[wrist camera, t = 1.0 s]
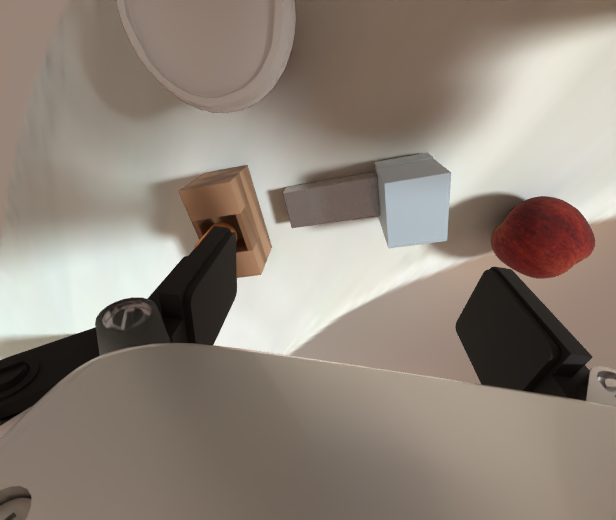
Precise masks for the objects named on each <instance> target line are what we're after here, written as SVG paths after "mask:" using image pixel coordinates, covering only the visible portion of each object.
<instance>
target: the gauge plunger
mask: <svg viewBox="0 0 616 520" xmlns="http://www.w3.org/2000/svg"><path fill="white" fill-rule="evenodd" d="M214 226H220V227H227V228H230V229H231V232H235V234H236V242H237V238H238V237H237V233H236V231H235V229H234V228H233V227H232V226H231V225H229V224H227V223H224V222H218V223H215V224H213V225H212V226H211V227H210V229H209V230H208V231H207V232H206V233H205V234H204V236H203V237H202V238H201V239H200V240H199V241H198V243H197V244H196V246H197V245H198V244H199V243H200V242H201V241H202V239H203V238H204V237H205V236H206V235H207V233H208V232H209V231H210V230H211V229H212V228H213V227H214ZM196 246H195V248H196Z"/></svg>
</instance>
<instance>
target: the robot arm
mask: <svg viewBox="0 0 616 520" xmlns="http://www.w3.org/2000/svg"><path fill="white" fill-rule="evenodd" d="M236 292H237V269H236V234H235V232H231V229H230V228H227V227H220V226H214V227H213V228H212V229H211V230H210V231H209V232H208V233H207V235H206V236H205V237H204V238H203V239H202V241H201V242H200V243H199V244H198V245H197V246H196V248H195V249H194V250H193V251H192V252H191V254H190V255H189V256H185V257H184V258H183V259H182V260H181V261H180V262H179V263H178V264H177V266H176V267H175V268H174V269H173V270H172V271H171V272H170V274H169V275H168V276H167V277H166V278H165V279H164V281H163V282H162V283H161V284H160V285H159V286H158V287H157V289H156V290H155V291H154V292H153V293H152V294H151V295H150V297H149V298H148V299H145V298H128V299H123V300H120V301H117V302H114V303H113V304H111V305H109V306H107V307H106V308H105V309H103V310H102V311H101V312H100V313H99V315H98V316H97V318H96V323H95V326H96V327H95V328H93V329H90V330H87V331H84V332H81V333H78V334H75V335H72V336H69V337H66V338H63V339H60V340H57V341H54V342H51V343H49V344H46V345H43V346H40V347H37V348H34V349H31V350H28V351H25V352H22V353H19V354H16V355H13V356H10V357H7V358H5V359H3V360H0V520H616V370H614V369H610V368H607V367H602V366H596V367H593V368H591V369H590V370H589V369H588V368H587V367H586V366H585V364H586V363H587V362H588V361H589V360H590V359H591V358H592V356H591V355H590V354H589V353H588V352H587V350H586V349H585V348H584V347H583V346H582V345H581V344H580V343H579V342H578V341H577V340H576V339H575V337H574V336H573V335H572V334H571V333H570V332H569V331H568V330H567V329H566V328H565V327H564V326H563V325H562V323H561V322H560V321H559V320H558V319H557V318H556V317H555V316H554V315H553V314H552V313H551V312H550V310H549V309H548V308H547V307H546V306H545V305H544V304H543V303H542V302H541V301H540V300H539V299H538V298H537V297H536V295H535V294H534V293H533V292H532V291H531V290H530V289H529V288H528V287H527V286H526V285H525V283H524V282H523V281H522V280H521V279H520V278H519V277H518V276H517V275H516V274H515V273H514V272H513V271H512V270H511V269H506V268H499V267H491V268H490V269H489V270H486V271H485V272H484V273H483V275H482V276H481V278H480V280H479V282H478V284H477V286H476V287H475V289H474V291H473V293H472V295H471V297H470V298H469V300H468V302H467V304H466V306H465V308H464V309H463V311H462V313H461V315H460V317H459V319H458V320H457V322H456V332H457V334H458V336H459V338H460V340H461V342H462V344H463V346H464V349H465V351H466V353H467V355H468V357H469V359H470V361H471V363H472V365H473V367H474V369H475V372H476V374H477V376H478V378H479V380H480V382H481V384H476V383H469V382H463V381H457V380H450V379H444V378H437V377H430V376H424V375H417V374H411V373H404V372H397V371H391V370H384V369H377V368H371V367H363V366H357V365H351V364H344V363H337V362H330V361H323V360H315V359H309V358H302V357H295V356H288V355H281V354H274V353H268V352H261V351H254V350H247V349H240V348H231V347H222V346H213V344H214V342H215V340H216V338H217V336H218V334H219V332H220V329H221V327H222V325H223V323H224V321H225V319H226V317H227V314H228V312H229V310H230V308H231V306H232V304H233V302H234V299H235V297H236Z"/></svg>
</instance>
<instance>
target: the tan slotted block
mask: <svg viewBox="0 0 616 520" xmlns="http://www.w3.org/2000/svg"><path fill="white" fill-rule="evenodd" d="M179 194H180V196H181V198H182V201H183V203H184V205H185V207H186V210H187V212H188V214H189V217H190V219H191V221H192V223H193V226H194V228H195V230H196V233H197V235H198V237H199V239H201V238H202V237H203V236H204V234H205V233H206V232H207V231H208V230H209V229H210V227H211V226H212V225H213V224H215V223H218V222H224V223H227V224H229V225H231V226H232V227H233V228H234V229H235V231H236V233H237V237H238V238H237V242H236V269H237V278H239V277H247V276H255V275H261V274H262V271H263V269H264V266H265V263H266V261H267V258H268V256H269V253H270V250H271V248H272V246H271V243H270V239H269V236H268V233H267V229H266V226H265V223H264V219H263V216H262V212H261V209H260V206H259V202H258V199H257V196H256V192H255V189H254V186H253V182H252V179H251V176H250V172H249V169H248V165H246V166H240V167H235V168H230V169H225V170H219V171H214V172H209V173H204V174H202V175H201V176H200V177H198V178H197V179H195V180H194V181H192V182H191V183H190V184H188V185H187V186H185V187H184V188H182V189H181V190H180V191H179Z"/></svg>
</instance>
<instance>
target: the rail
mask: <svg viewBox="0 0 616 520" xmlns="http://www.w3.org/2000/svg"><path fill="white" fill-rule="evenodd" d="M283 195H284V199H285V203H286V207H287V211H288V215H289V219H290V223H291V227H292V228H296V227H303V226H310V225H316V224H323V223H330V222H337V221H344V220H350V219H357V218H364V217H371V216H377V215H380V203H379V189H378V176H377V173H376V172H371V173H365V174H359V175H353V176H348V177H342V178H336V179H330V180H324V181H319V182H313V183H307V184H301V185H296V186H290V187H286V188H285V190H284V193H283Z"/></svg>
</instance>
